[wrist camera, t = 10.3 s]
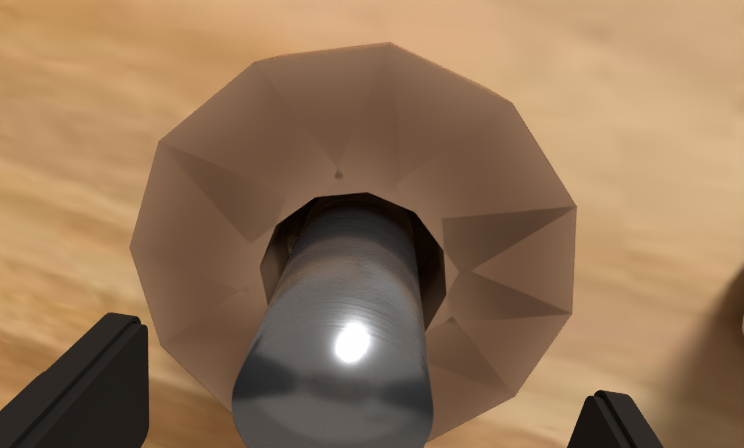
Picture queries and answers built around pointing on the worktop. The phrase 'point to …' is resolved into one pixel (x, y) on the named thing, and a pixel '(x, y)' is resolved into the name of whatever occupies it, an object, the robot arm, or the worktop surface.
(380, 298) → the peg
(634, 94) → the worktop surface
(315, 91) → the bead
